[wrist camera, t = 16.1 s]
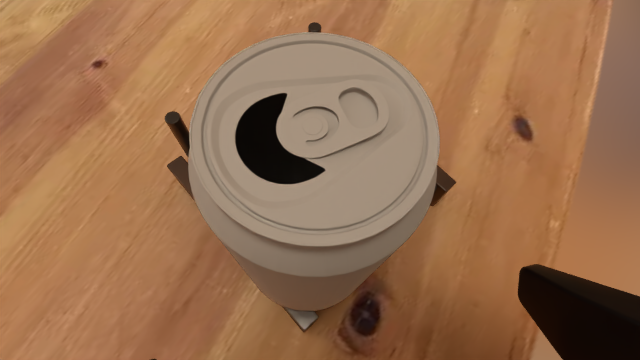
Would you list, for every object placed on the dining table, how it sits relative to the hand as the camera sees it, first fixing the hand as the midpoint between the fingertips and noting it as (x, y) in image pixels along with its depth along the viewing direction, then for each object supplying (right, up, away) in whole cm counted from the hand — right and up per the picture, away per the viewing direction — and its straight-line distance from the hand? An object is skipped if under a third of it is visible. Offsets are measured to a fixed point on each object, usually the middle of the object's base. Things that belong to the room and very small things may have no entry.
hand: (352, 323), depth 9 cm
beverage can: (-1, 0, +10) cm, 11 cm away
